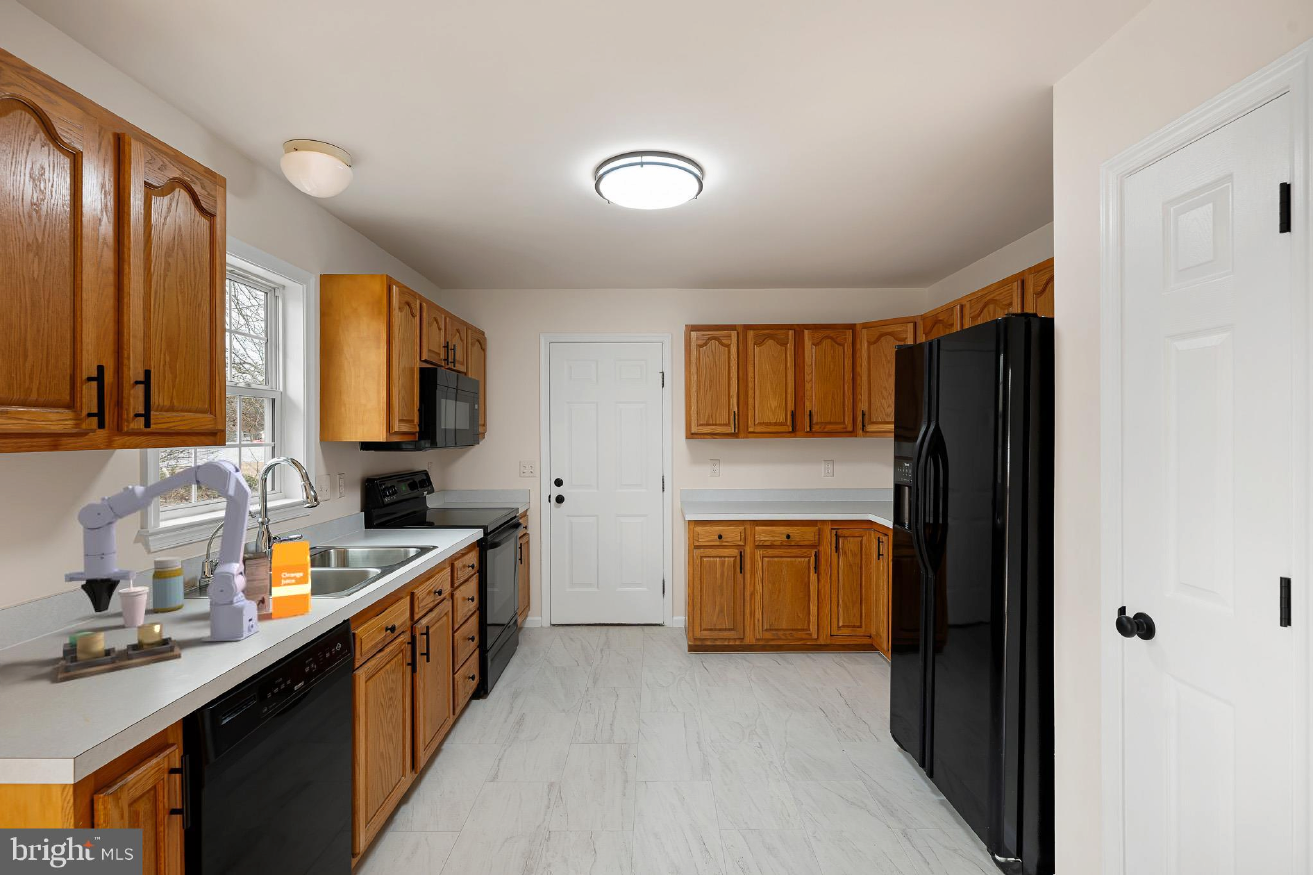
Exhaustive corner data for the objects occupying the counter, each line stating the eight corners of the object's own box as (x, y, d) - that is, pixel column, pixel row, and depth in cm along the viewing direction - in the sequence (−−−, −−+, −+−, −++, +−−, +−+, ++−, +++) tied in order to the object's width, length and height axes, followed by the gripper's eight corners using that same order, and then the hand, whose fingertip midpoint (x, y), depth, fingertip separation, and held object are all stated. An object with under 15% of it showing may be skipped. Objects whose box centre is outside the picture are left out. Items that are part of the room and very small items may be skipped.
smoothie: (113, 627, 163) (112, 574, 163) (142, 620, 169) (141, 569, 169) (125, 630, 160) (124, 576, 160) (154, 623, 166) (153, 571, 166)
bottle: (163, 606, 182) (162, 556, 182) (189, 605, 183) (188, 555, 183) (146, 613, 175) (146, 561, 175) (173, 612, 176) (172, 560, 176)
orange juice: (276, 611, 176) (274, 541, 176) (311, 607, 179) (310, 539, 179) (272, 618, 169) (270, 546, 169) (308, 614, 172) (307, 543, 172)
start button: (93, 638, 144) (93, 630, 144) (93, 642, 141) (93, 634, 141) (69, 642, 141) (69, 634, 141) (69, 646, 138) (68, 638, 138)
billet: (163, 646, 144) (163, 621, 144) (161, 652, 140) (161, 625, 140) (139, 650, 141) (138, 624, 141) (136, 656, 138) (136, 629, 138)
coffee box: (237, 609, 178) (236, 553, 178) (262, 604, 183) (262, 550, 183) (244, 615, 172) (243, 558, 172) (270, 610, 177) (269, 554, 176)
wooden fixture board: (175, 643, 149) (174, 614, 149) (181, 657, 139) (180, 626, 139) (60, 665, 135) (59, 633, 135) (57, 682, 126) (57, 648, 126)
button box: (99, 650, 145) (99, 637, 145) (99, 656, 141) (99, 643, 141) (63, 656, 141) (63, 643, 141) (62, 663, 137) (62, 650, 137)
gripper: (145, 549, 149) (146, 605, 149) (82, 551, 148) (84, 607, 148) (121, 555, 142) (123, 613, 142) (55, 556, 141) (57, 615, 141)
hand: (101, 611), depth 145 cm, fingers closed
